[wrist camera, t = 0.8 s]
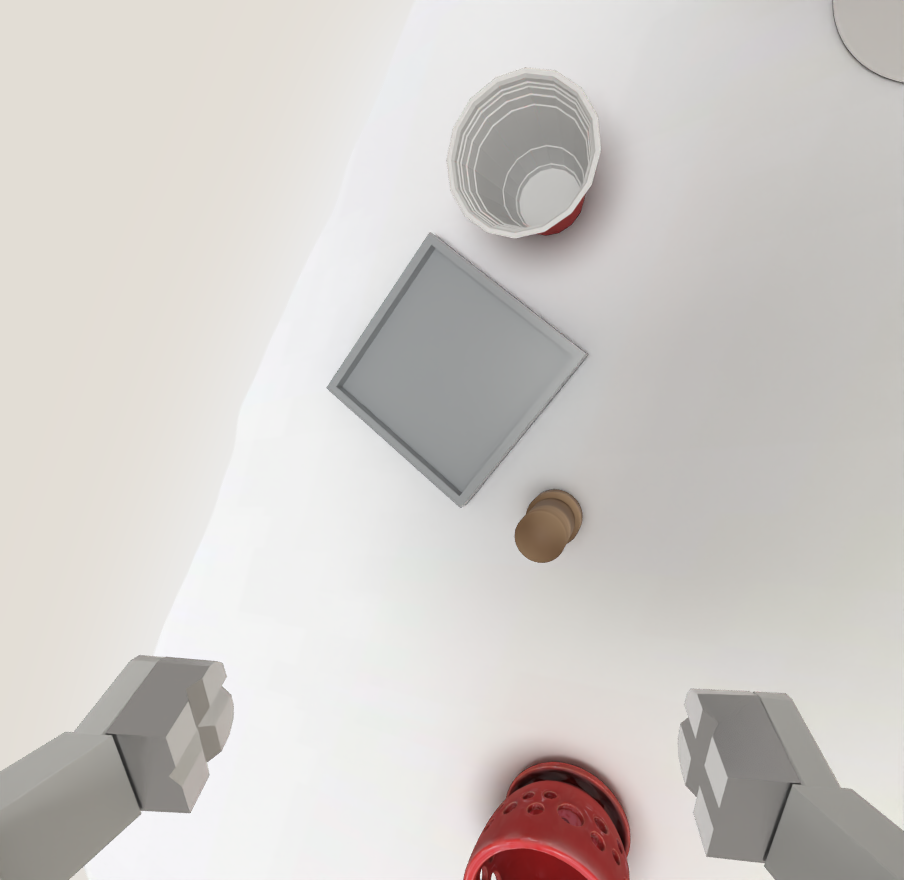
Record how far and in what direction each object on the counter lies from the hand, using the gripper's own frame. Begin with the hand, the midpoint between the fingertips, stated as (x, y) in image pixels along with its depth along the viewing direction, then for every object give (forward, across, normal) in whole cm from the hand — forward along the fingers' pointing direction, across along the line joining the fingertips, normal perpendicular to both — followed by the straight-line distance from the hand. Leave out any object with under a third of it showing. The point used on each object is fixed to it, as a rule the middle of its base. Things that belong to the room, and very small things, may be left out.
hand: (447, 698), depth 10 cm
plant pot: (+29, -8, +47) cm, 56 cm away
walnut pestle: (+38, -6, +20) cm, 44 cm away
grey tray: (+45, +4, +8) cm, 46 cm away
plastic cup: (+48, -4, -6) cm, 48 cm away
